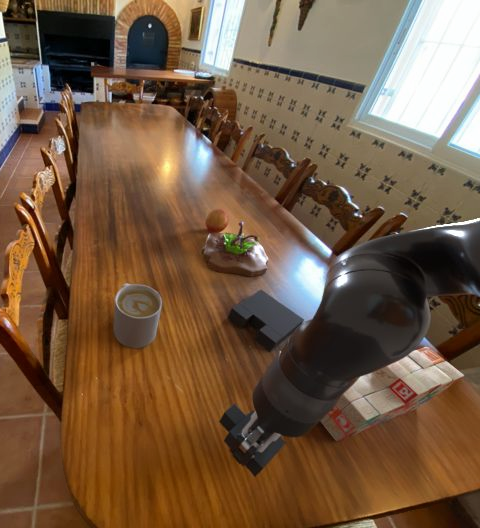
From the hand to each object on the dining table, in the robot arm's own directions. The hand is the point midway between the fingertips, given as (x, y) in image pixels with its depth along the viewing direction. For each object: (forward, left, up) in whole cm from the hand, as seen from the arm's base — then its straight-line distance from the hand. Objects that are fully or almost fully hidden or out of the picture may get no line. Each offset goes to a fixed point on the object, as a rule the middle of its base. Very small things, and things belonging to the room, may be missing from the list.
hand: (251, 444), depth 47 cm
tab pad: (+1, 0, -1) cm, 1 cm away
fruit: (+50, -50, -5) cm, 71 cm away
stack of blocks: (-9, -26, -5) cm, 28 cm away
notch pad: (+15, -28, -5) cm, 32 cm away
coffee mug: (+32, -1, -5) cm, 33 cm away
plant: (+37, -44, -5) cm, 58 cm away
